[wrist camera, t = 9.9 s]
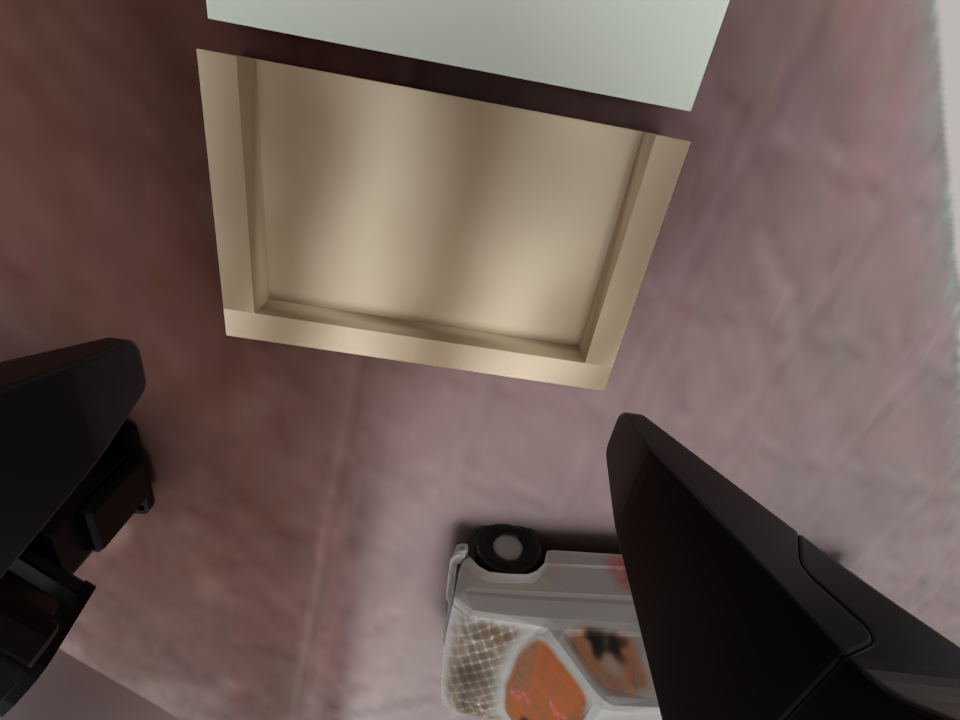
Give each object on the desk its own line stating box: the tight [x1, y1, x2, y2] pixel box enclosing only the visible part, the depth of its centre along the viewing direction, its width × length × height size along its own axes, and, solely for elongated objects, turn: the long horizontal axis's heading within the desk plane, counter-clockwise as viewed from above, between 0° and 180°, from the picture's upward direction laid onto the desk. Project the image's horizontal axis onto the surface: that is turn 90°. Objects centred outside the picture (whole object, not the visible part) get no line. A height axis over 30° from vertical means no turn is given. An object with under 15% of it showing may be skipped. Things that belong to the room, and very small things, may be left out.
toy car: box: [441, 524, 862, 720], centre depth 28 cm, size 11×25×10 cm, turn 85°
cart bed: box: [196, 49, 691, 391], centre depth 19 cm, size 16×10×3 cm, turn 81°
